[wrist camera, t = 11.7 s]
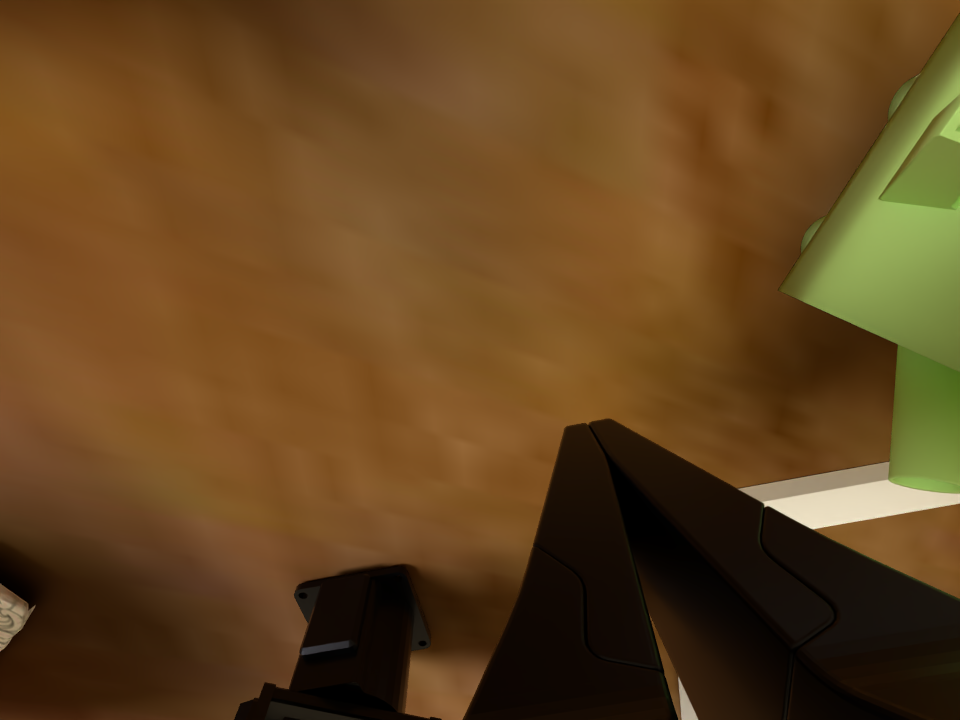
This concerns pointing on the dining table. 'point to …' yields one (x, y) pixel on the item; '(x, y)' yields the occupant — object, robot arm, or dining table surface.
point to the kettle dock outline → (846, 496)
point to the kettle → (904, 266)
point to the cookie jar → (11, 615)
